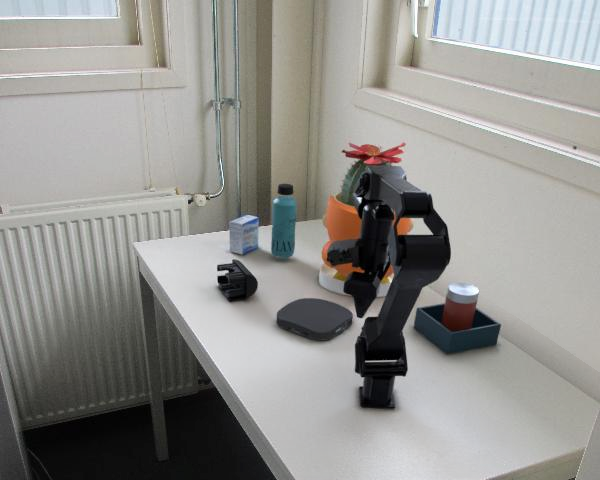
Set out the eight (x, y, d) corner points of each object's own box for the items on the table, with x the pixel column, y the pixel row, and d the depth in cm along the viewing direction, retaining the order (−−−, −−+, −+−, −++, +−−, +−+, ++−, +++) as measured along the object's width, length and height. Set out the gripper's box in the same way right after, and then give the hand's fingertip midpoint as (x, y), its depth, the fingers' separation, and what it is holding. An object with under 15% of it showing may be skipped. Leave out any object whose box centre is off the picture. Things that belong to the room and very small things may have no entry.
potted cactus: (317, 268, 180) (327, 130, 161) (400, 272, 181) (420, 135, 161) (319, 302, 162) (330, 152, 143) (411, 307, 163) (435, 158, 143)
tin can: (475, 336, 151) (485, 290, 145) (456, 344, 147) (465, 297, 141) (452, 324, 155) (461, 280, 149) (433, 332, 151) (441, 286, 145)
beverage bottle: (267, 260, 182) (269, 186, 171) (275, 252, 188) (277, 179, 177) (290, 264, 181) (293, 189, 170) (297, 256, 186) (301, 183, 175)
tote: (496, 344, 149) (501, 324, 146) (447, 354, 144) (451, 333, 141) (460, 319, 159) (464, 299, 156) (413, 327, 154) (416, 307, 151)
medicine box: (242, 255, 185) (242, 224, 180) (229, 251, 187) (228, 221, 182) (258, 247, 190) (259, 217, 186) (245, 243, 192) (246, 213, 188)
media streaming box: (306, 303, 161) (306, 292, 160) (358, 321, 155) (359, 310, 153) (269, 325, 151) (269, 312, 149) (323, 345, 144) (324, 333, 143)
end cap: (258, 299, 162) (258, 273, 158) (229, 303, 159) (229, 276, 156) (243, 283, 169) (244, 257, 166) (216, 286, 167) (216, 260, 163)
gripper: (345, 207, 133) (337, 277, 143) (320, 246, 119) (313, 320, 129) (400, 217, 131) (388, 287, 141) (381, 258, 117) (369, 333, 127)
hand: (364, 306), depth 135 cm, fingers open, 9 cm apart
